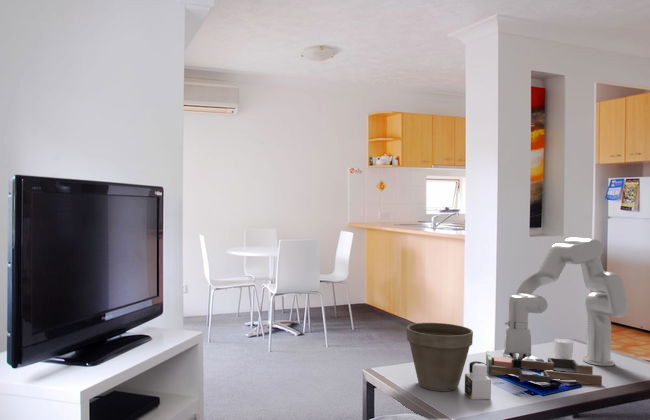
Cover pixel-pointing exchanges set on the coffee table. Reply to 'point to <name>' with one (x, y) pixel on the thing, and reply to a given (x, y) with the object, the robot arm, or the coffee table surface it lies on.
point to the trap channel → (577, 371)
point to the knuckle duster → (529, 358)
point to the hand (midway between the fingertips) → (517, 369)
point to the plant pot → (439, 353)
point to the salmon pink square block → (502, 362)
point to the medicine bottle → (478, 382)
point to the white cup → (563, 348)
